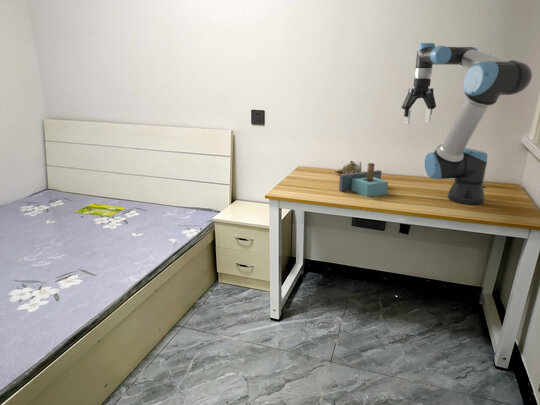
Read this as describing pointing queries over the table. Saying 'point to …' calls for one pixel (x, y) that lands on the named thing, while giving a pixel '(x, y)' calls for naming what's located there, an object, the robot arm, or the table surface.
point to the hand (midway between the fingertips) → (417, 122)
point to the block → (369, 186)
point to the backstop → (346, 179)
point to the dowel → (370, 172)
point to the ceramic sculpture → (350, 168)
